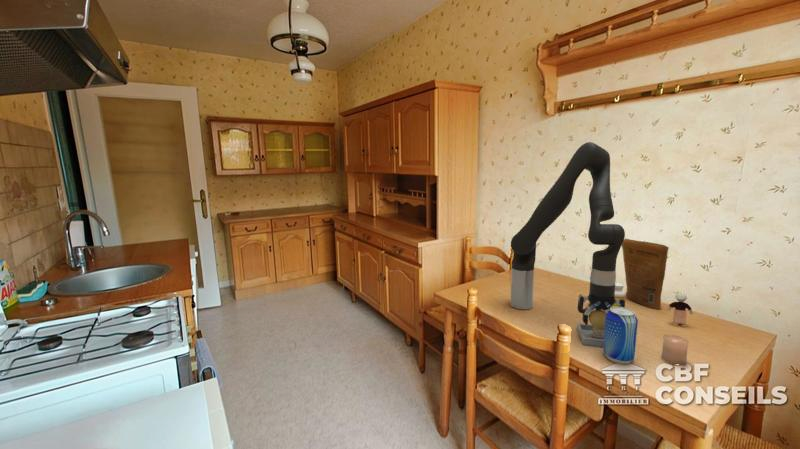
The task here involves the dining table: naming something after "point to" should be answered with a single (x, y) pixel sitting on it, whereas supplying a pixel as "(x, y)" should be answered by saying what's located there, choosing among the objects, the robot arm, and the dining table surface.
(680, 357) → the beige rounded block
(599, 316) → the light bulb
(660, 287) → the pancake mix bag
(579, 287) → the dining table surface
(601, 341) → the tray
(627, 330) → the beer can
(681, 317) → the grandmother figurine
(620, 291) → the supplement bottle
